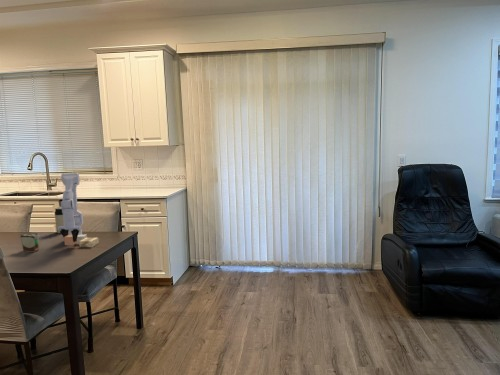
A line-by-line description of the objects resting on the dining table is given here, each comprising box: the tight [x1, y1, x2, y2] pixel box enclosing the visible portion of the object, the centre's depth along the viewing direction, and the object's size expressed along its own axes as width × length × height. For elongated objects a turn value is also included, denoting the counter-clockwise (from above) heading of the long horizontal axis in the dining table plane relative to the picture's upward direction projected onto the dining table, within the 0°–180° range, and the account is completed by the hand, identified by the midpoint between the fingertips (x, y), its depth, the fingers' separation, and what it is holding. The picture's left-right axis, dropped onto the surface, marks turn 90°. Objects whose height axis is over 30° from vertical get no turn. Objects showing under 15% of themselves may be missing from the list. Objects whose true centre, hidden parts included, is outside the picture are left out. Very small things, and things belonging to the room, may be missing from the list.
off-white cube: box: [76, 233, 88, 245], centre depth 231 cm, size 5×5×5 cm
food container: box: [19, 232, 40, 253], centre depth 219 cm, size 12×6×10 cm, turn 71°
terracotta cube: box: [63, 235, 77, 246], centre depth 221 cm, size 5×5×5 cm
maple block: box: [78, 237, 100, 248], centre depth 226 cm, size 8×8×4 cm
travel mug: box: [54, 206, 64, 234], centre depth 260 cm, size 8×8×18 cm
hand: (71, 241), depth 221 cm, fingers closed on terracotta cube, 5 cm apart
